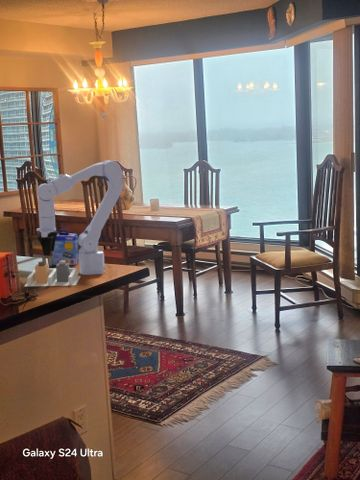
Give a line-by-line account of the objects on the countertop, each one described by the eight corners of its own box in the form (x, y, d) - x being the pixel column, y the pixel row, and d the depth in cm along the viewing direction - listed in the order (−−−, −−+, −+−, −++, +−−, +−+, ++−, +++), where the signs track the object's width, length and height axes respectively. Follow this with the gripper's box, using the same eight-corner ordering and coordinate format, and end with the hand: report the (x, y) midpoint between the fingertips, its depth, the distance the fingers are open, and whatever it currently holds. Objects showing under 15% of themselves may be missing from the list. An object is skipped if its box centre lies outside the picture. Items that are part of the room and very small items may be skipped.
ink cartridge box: (52, 265, 258) (50, 230, 255) (55, 262, 263) (53, 227, 260) (76, 265, 257) (74, 229, 254) (79, 262, 263) (77, 227, 260)
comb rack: (81, 277, 236) (80, 267, 235) (75, 287, 222) (75, 276, 221) (32, 278, 235) (31, 268, 235) (24, 288, 222) (23, 278, 221)
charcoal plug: (69, 279, 231) (68, 259, 229) (68, 281, 227) (67, 262, 225) (58, 279, 230) (57, 260, 229) (56, 282, 227) (55, 262, 225)
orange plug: (49, 280, 229) (48, 260, 228) (47, 283, 226) (46, 263, 224) (38, 280, 229) (36, 261, 228) (35, 283, 225) (34, 263, 224)
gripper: (39, 214, 239) (41, 249, 242) (31, 219, 225) (34, 257, 228) (58, 213, 239) (60, 249, 242) (51, 219, 225) (53, 256, 228)
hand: (49, 253), depth 235 cm, fingers open, 7 cm apart
